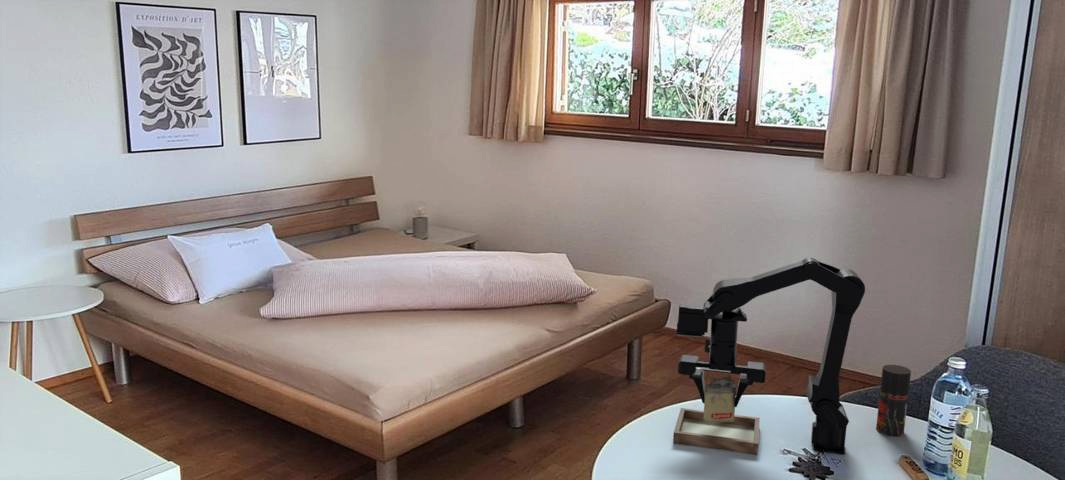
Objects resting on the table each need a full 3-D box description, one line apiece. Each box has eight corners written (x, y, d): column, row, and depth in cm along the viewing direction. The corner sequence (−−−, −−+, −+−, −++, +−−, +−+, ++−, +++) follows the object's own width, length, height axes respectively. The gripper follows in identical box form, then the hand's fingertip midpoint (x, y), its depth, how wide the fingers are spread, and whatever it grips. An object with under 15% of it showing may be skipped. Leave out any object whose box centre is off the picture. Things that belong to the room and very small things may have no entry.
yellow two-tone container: (706, 424, 188) (708, 381, 185) (700, 417, 191) (702, 375, 189) (736, 422, 189) (739, 379, 187) (730, 415, 192) (732, 373, 190)
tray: (758, 428, 195) (759, 417, 194) (757, 454, 182) (758, 443, 181) (680, 418, 200) (680, 407, 199) (673, 443, 187) (673, 432, 186)
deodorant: (905, 438, 191) (912, 375, 188) (877, 434, 193) (884, 372, 189) (901, 427, 197) (908, 366, 193) (874, 424, 198) (881, 363, 195)
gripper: (768, 331, 191) (763, 396, 194) (684, 323, 196) (681, 386, 199) (767, 346, 180) (762, 415, 184) (679, 338, 185) (676, 405, 189)
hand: (719, 404), depth 189 cm, fingers closed on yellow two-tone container, 7 cm apart
